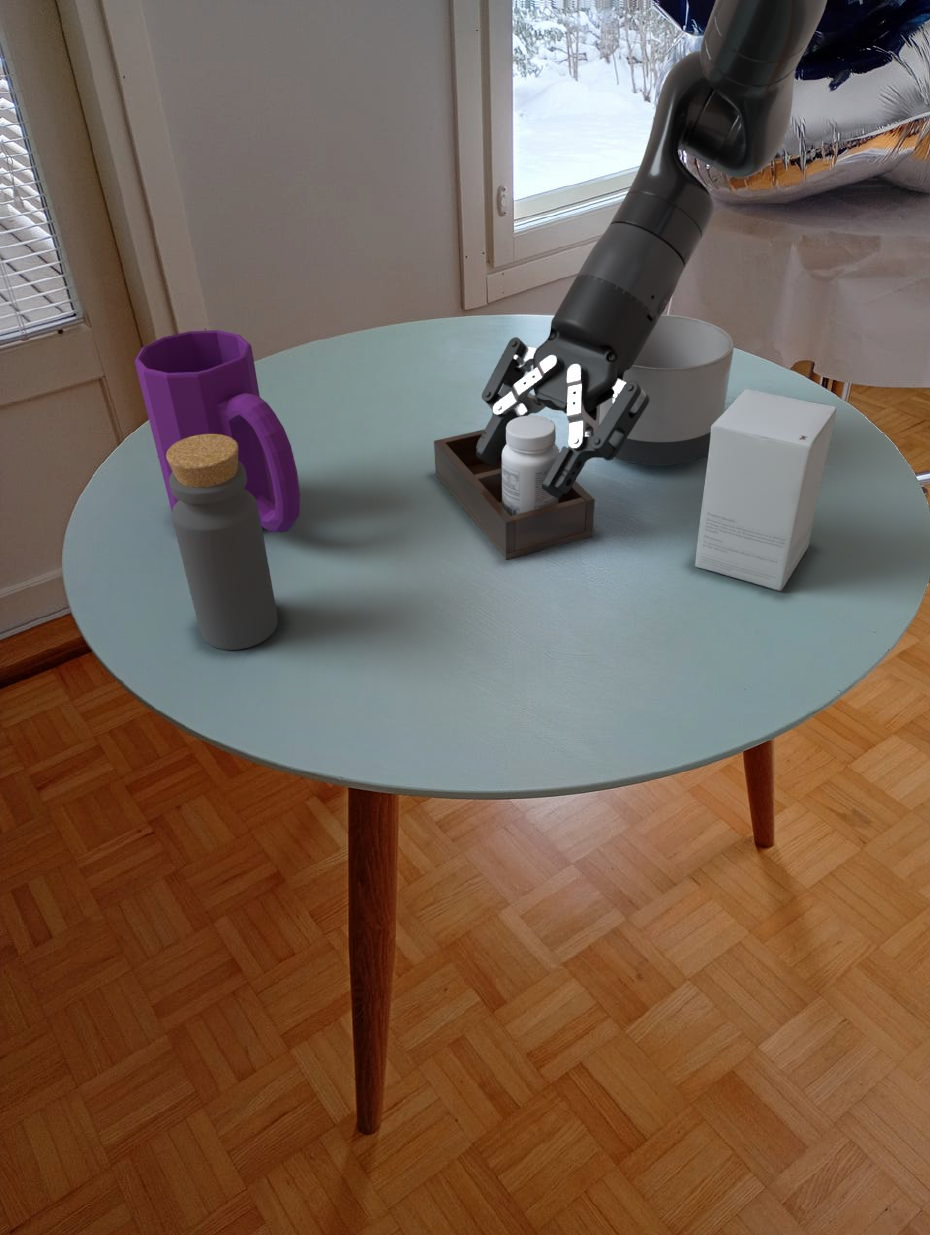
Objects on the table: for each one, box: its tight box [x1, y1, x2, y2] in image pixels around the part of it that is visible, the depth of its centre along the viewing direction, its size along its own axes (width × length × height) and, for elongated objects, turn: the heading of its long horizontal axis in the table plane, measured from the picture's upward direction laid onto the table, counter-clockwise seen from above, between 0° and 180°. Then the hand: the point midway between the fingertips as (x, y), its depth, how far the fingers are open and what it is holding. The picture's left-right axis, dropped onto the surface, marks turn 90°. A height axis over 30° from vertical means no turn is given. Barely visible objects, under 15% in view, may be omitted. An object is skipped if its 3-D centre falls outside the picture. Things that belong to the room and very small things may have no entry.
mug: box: [134, 329, 301, 533], centre depth 81 cm, size 9×16×15 cm, turn 47°
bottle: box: [166, 434, 279, 651], centre depth 70 cm, size 6×6×15 cm
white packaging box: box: [694, 388, 838, 592], centre depth 76 cm, size 7×7×13 cm
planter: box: [599, 313, 735, 466], centre depth 92 cm, size 13×13×10 cm
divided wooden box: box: [433, 428, 596, 560], centre depth 86 cm, size 8×15×4 cm, turn 23°
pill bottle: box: [502, 415, 560, 516], centre depth 81 cm, size 5×5×8 cm
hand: (516, 476), depth 80 cm, fingers open, 7 cm apart
